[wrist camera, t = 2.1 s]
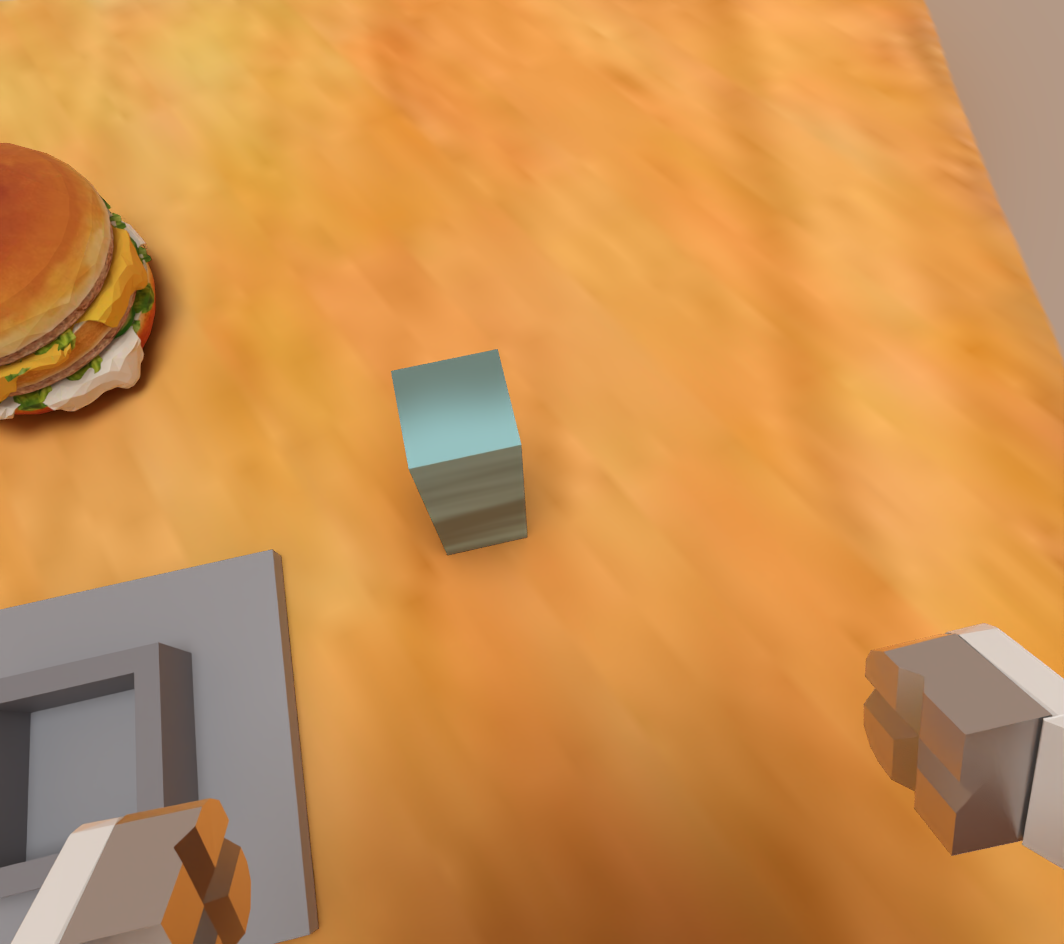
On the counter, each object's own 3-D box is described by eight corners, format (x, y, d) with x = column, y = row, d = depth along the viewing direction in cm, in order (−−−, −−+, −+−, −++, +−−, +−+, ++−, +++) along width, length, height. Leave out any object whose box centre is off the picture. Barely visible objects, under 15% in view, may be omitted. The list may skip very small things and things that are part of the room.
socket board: (318, 928, 29) (284, 952, 25) (-90, 1034, 28) (-192, 1077, 24) (280, 556, 35) (248, 530, 31) (-58, 631, 34) (-135, 614, 30)
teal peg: (527, 537, 35) (521, 444, 25) (447, 555, 35) (408, 469, 25) (510, 464, 37) (497, 349, 27) (433, 481, 37) (390, 370, 26)
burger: (76, 200, 44) (-48, 50, 35) (233, 309, 41) (143, 175, 32) (-112, 354, 40) (-309, 230, 31) (46, 488, 37) (-121, 395, 28)
